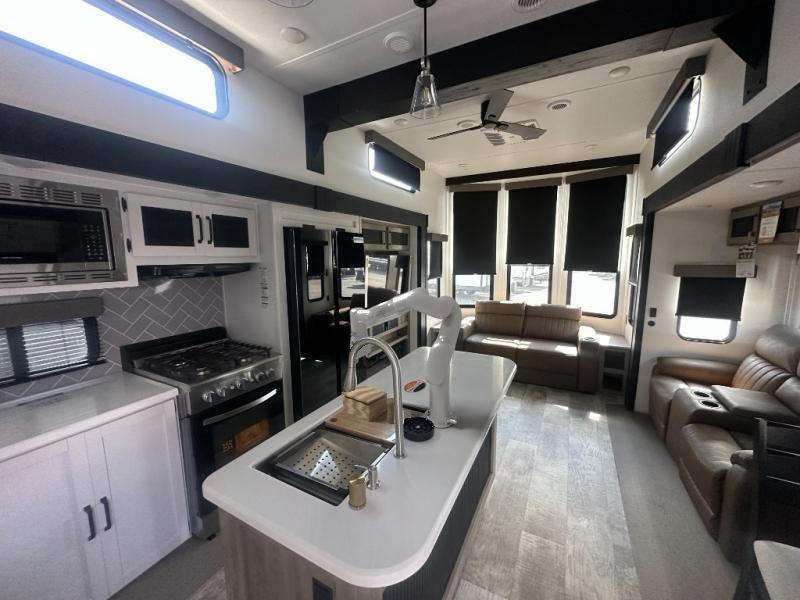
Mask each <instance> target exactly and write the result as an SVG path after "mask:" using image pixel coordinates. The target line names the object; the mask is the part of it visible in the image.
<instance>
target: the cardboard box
mask: <svg viewBox="0 0 800 600" xmlns="http://www.w3.org/2000/svg"><path fill="white" fill-rule="evenodd" d="M387 400H388V394H387V395H385V396H383V397H381V398H379V399H377V400H375V401H373V402H371V403H369V404H367V403H364V402H361V401H359V400H356V399H353V398H350V397H348V396H345V395H343V396H342V408H343V409H342V412H343V413H344V412H345V413H347V414H349V415H351V416H353V417H356V418H359V419H362V420H363V421H367V422H371V421H373V420H374V419H376V418H378V416H380V415H382V414H383V413H384V412H385V411H388V406H387Z"/></svg>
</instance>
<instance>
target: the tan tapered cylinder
mask: <svg viewBox="0 0 800 600" xmlns="http://www.w3.org/2000/svg"><path fill="white" fill-rule="evenodd" d="M387 407H388V409H387V410H386V411H387V413H386V423H387V424H390V425H395V424H394V397H389V398H387Z"/></svg>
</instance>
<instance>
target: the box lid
mask: <svg viewBox="0 0 800 600" xmlns="http://www.w3.org/2000/svg"><path fill="white" fill-rule="evenodd" d="M355 387H356V388H355V390H354V391H351V392H344V391H343V392H341V395H343V396H348V397H350V398H353V399H356V400H359V401H361V402H364V403H367V404H369V403H371V402H373V401H375V400H377V399H379V398H381V397H383V396H385V395H387V396H388V392H387V391H382V390H381V389H380V390H379V389H377V388H373V387H370V386H367V385H364V384H359V385H357V386H355Z"/></svg>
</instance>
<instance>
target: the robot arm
mask: <svg viewBox="0 0 800 600" xmlns="http://www.w3.org/2000/svg"><path fill="white" fill-rule="evenodd" d="M412 310H415V311H417V312H419V313H422V314H424V315H426V316H429V317H431V318H433V319H437V320H442V321H441V324H440V327H439V331H438V335H437V336H436V339H435V341H434V342H433V344H432V346H431V347H430V350H429V354H428V356H427V361H426V364H425V367H424V372H423V376H424V379H425V381H426V382H427V383H428V394H429V395H428V401H429V414H430V416H428V415H427V416H426V418H427V417H428V418H429V419H431V420H432V421H433V423H434V425H435V427H434V428H436V429H437V428H438V429H445V428H448V427H450V426H451V425H453V424H454V425H457V424H458V417H457V416H454V415H453V413H452V411H451V409H450V408H451V407H450V405H451V403H450V397H451V396H450V395H451V394H450V375H451V372H450V371H451V365H450V364H451V361H452V358H453V355H454V353H455V349H456V344H457V341H458V337H459V333H460V329H461V326H462V321H463V313H462V309H461V306H460V304H459V303H458V301H456V299H455V298H453V297H452V296H450V295H441V296H439V297H436V296H433V295H431V294H430V291H429V290H428V289H427V288H425V287H422V286H421V287H416V288H414V289H411V290H408V291H405V292H404V293H400V294H399V295H395V296H394V297H392V298H390V299H389V300H387V301H384V302H382V303H379V304H377V305H374V306H372V307H370V308H367V309H365V308H363V307H354V308H351V309H350V311H349V315H350V316H349V317H350V318H349V319H350V332H351V333H350V336H351V337H350V344H349V345H350V346H349V347H350V348H349V349H351V347H352V346H353V344H354V343H355V342H356V341H358V340H359V339H361V338H364V337H369V334H368V332H367V330H368V329H367V328H368V327H367V325H368V326H372V325H375V324H377V323H378V322H380V321H381V320H383V319H386V318H388V317H391V316H393V315H403V314H405V313H407V312H410V311H412ZM369 338H370V337H369ZM371 352H372V348H371V343H370V344H368V345H365V346H363V347H362V348H361V349H360V350H359V351H358V353H357V357H356V358H355V360H356V370H355V371H357V372H358V371H360V363H359V359H361V358H362V357H363V358H362V364H363V365H362V366H365V367H369V363H370V362H369V359H370V355H371Z"/></svg>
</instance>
